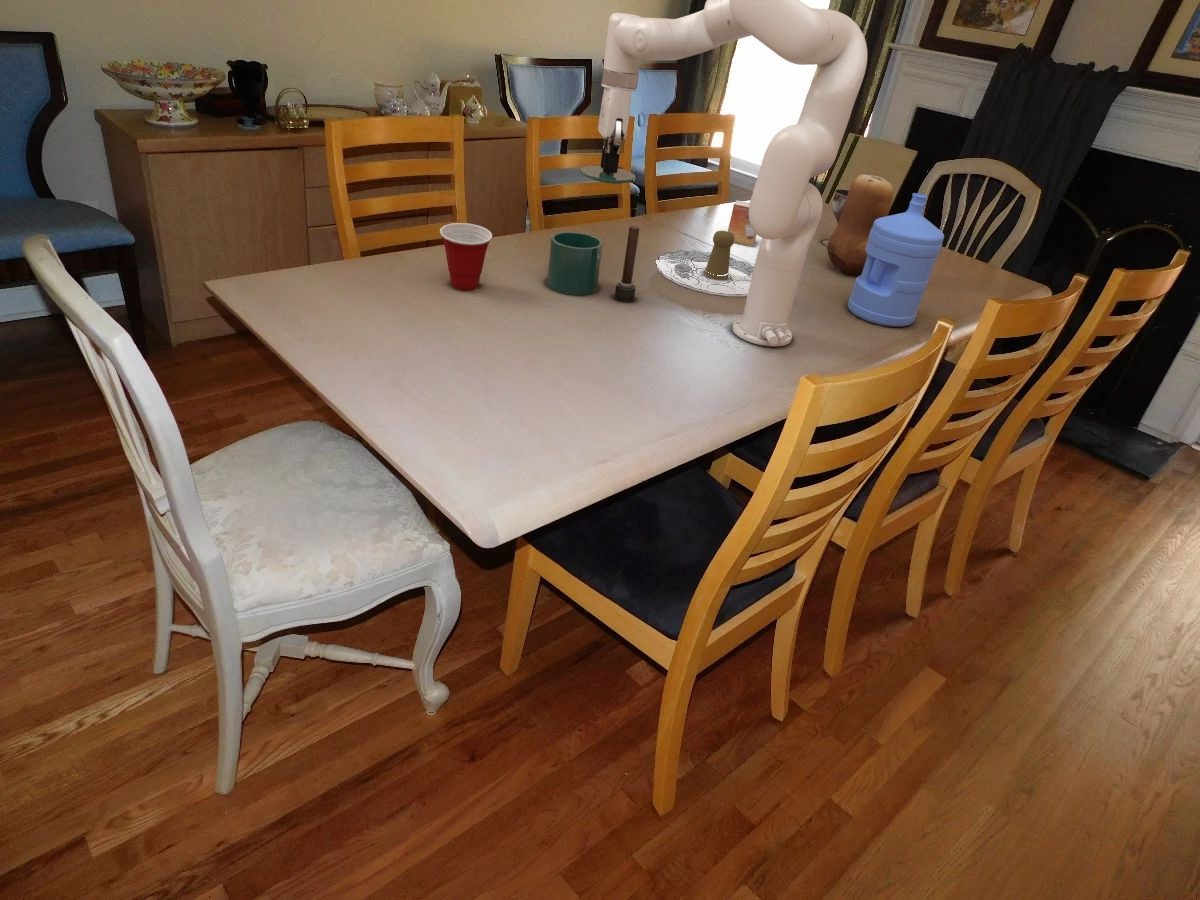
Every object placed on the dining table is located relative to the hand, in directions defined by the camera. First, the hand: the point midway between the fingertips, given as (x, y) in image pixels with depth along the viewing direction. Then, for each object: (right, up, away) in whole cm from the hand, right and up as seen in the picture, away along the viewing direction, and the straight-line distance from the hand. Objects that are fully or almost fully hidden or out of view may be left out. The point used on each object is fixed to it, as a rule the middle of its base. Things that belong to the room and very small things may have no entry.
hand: (608, 169), depth 171 cm
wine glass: (+68, -2, +57) cm, 89 cm away
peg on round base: (+3, -29, -1) cm, 29 cm away
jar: (-8, -26, +2) cm, 27 cm away
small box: (+38, -3, +48) cm, 61 cm away
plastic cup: (-31, -27, -6) cm, 42 cm away
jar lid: (0, -1, +1) cm, 1 cm away
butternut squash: (+65, -15, +36) cm, 76 cm away
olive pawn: (+27, -19, +20) cm, 39 cm away
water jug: (+64, -31, +10) cm, 72 cm away
